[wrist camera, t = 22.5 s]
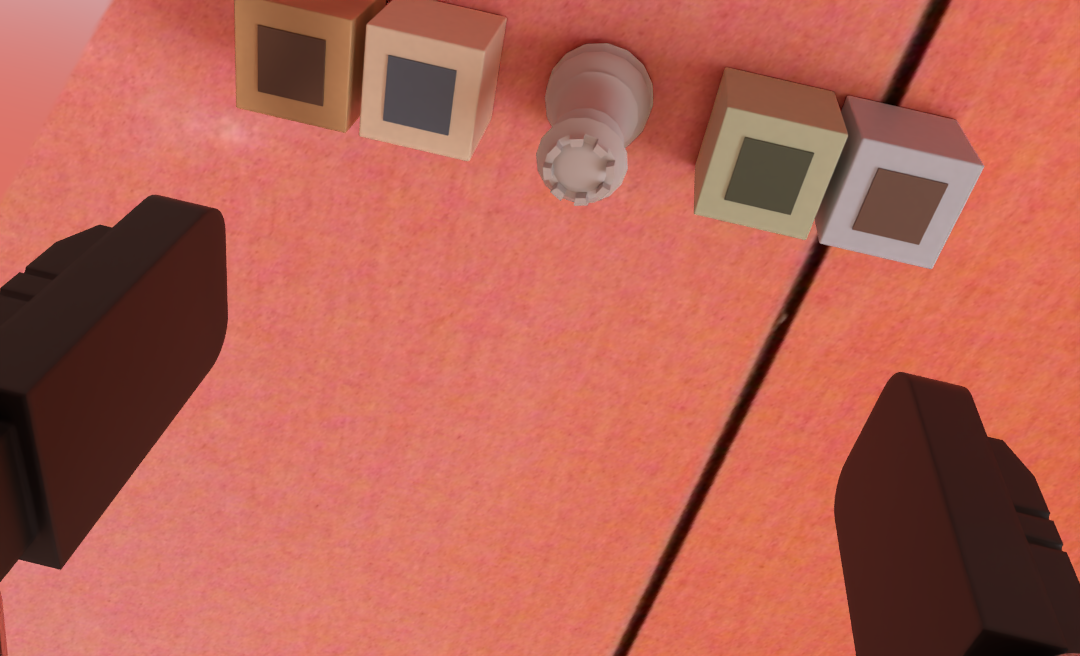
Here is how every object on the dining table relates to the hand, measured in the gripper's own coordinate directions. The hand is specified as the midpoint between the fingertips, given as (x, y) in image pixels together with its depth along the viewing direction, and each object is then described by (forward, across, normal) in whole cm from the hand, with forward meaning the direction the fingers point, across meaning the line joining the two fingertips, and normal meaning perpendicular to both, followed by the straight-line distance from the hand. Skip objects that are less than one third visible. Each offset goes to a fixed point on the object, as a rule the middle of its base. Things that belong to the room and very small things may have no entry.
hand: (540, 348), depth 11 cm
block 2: (+28, +7, +7) cm, 30 cm away
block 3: (+28, -6, +7) cm, 30 cm away
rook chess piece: (+28, 0, +7) cm, 29 cm away
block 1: (+28, +12, +7) cm, 31 cm away
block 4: (+28, -12, +7) cm, 31 cm away
